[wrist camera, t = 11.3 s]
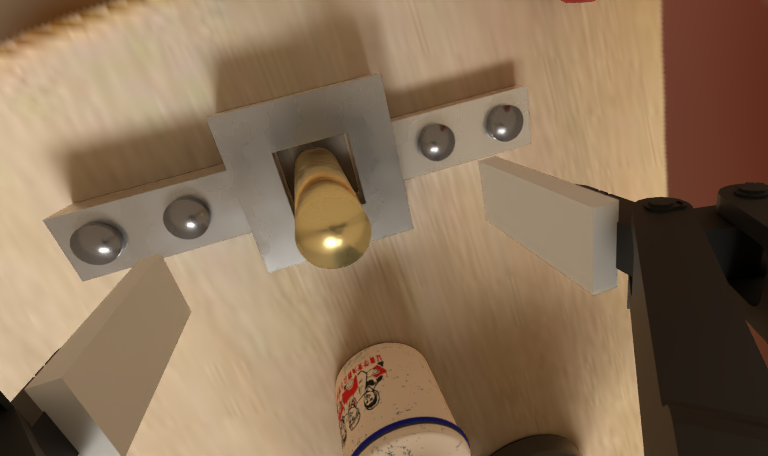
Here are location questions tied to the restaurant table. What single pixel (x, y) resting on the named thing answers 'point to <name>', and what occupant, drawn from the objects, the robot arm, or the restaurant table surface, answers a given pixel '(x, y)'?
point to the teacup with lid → (394, 406)
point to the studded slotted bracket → (267, 181)
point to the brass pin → (327, 212)
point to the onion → (576, 1)
